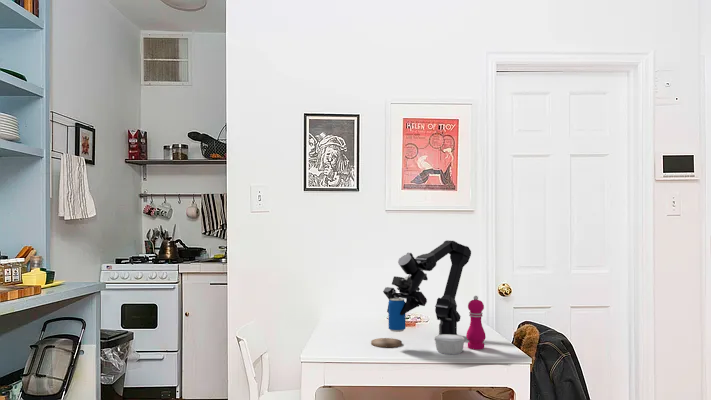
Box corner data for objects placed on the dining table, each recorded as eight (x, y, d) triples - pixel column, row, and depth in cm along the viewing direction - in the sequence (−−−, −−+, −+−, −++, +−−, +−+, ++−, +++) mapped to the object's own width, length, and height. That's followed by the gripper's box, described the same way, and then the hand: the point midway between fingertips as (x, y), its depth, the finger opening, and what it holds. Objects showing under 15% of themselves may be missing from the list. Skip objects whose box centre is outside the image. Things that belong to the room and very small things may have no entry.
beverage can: (408, 329, 217) (408, 298, 218) (401, 332, 212) (401, 300, 212) (393, 327, 221) (392, 297, 221) (385, 331, 215) (385, 299, 215)
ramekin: (446, 356, 203) (446, 342, 203) (428, 350, 213) (428, 336, 213) (471, 353, 208) (471, 338, 209) (451, 346, 218) (451, 333, 218)
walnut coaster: (396, 339, 229) (396, 337, 229) (405, 346, 217) (405, 344, 217) (368, 341, 227) (368, 338, 227) (375, 348, 215) (375, 345, 215)
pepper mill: (481, 351, 211) (481, 297, 212) (463, 348, 215) (463, 296, 216) (488, 347, 217) (488, 295, 218) (470, 344, 221) (470, 293, 222)
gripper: (386, 266, 226) (366, 297, 218) (421, 270, 212) (402, 303, 205) (399, 284, 231) (380, 315, 224) (435, 289, 218) (416, 322, 210)
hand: (394, 313), depth 215 cm, fingers closed on beverage can, 6 cm apart
